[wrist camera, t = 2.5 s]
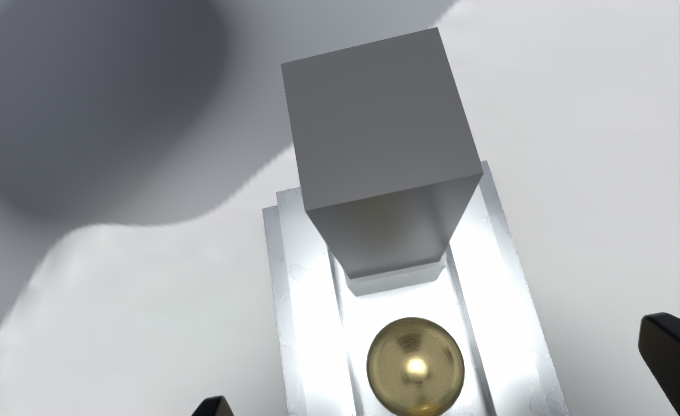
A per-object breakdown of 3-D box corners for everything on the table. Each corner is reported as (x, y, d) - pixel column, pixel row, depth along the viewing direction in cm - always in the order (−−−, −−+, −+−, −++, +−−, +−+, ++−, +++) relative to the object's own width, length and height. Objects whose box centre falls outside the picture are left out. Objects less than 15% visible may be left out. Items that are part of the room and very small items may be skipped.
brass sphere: (468, 404, 19) (486, 418, 15) (378, 420, 19) (374, 438, 15) (444, 312, 20) (456, 303, 16) (361, 328, 20) (353, 323, 17)
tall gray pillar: (436, 280, 21) (496, 179, 8) (355, 297, 21) (296, 222, 9) (417, 203, 22) (444, 18, 10) (340, 219, 22) (271, 59, 10)
